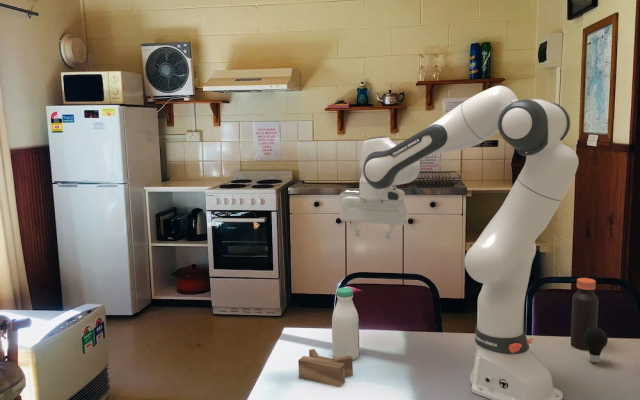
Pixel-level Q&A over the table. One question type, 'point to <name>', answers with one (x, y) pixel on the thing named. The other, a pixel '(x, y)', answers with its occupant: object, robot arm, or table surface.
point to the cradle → (325, 368)
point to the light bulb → (595, 342)
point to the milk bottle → (345, 326)
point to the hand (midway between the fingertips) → (372, 237)
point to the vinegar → (583, 311)
